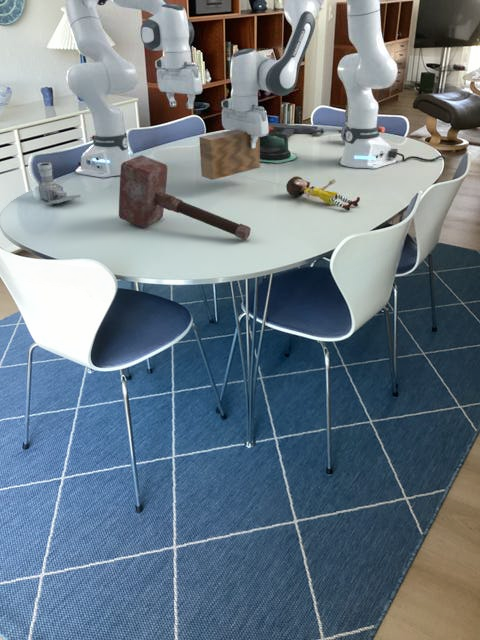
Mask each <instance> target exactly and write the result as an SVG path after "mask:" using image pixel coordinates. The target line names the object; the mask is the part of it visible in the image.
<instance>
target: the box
mask: <svg viewBox="0 0 480 640" xmlns="http://www.w3.org/2000/svg"><path fill="white" fill-rule="evenodd" d="M251 140H252V138H251V135H250V134H247V132H244V131H240V130H227V131H222V132H218V133H217V132H216V133H212V134H207V135H202V136H199V154H200V171H201V177H202V178H204V179H205V178H206V179H209V180H212V181H214V180H217V179H221V178H226V177H229V176H233V175H237V174H241V173H245V172H248V171H252V170H256V169H259V168H261V161H260V137H259V136H258V139H257V141H256V147H255V148H250V147H249V143H250V142H251Z"/></svg>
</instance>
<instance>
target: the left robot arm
mask: <svg viewBox="0 0 480 640" xmlns="http://www.w3.org/2000/svg"><path fill="white" fill-rule="evenodd" d="M108 1H109V0H65V12H66V18H67V22H68V26H69V29H70V32H71V35H72V37H73V42H74V44H75V47H76V49H77V51H78V52H79V54H80V55H82V56H84V57H86V58H88V59H90V60H92V61H89V62H82V63H78V64H75V65H72V66H70V67H69V69H68V70H67V73H66V84H67V86H68V88H69V90H70V92H72V94H74V96H76V97H78V98H79V99H81V100H82V101H83V103H85V105H86V106H87V108H88V109H89V111H90V114H91V117H92V122H93V126H94V133H95V134H93V135H92V136H90V137H89V141H92V145H91V146H90V147H88V148H87V149H86V150H85V151H84V152H83V153H82V154H81V157H80V159H79V161H78V162H77V165H79V167H77V168H76V169H75V174H79V175H85V176H90V177H97V178H111V177H116V176H120V173H121V164H122V163H123V162H125V161H128V160H130V159H131V156H130V155H131V152H130V151H129V142H128V135H127V132H126V126H125V119H124V118H125V117H124V112H123V111H122V110H121V108H120V107H118V106H116V105H114V104H112V103H109V101H108V99H107V96H108V95H114V94H115V95H116V94H123V93H126V92H129V91H132V90H134V89H135V88H136V86H137V84H138V79H139V75H138V71H137V68H136V67H135V65H134V64H133V63H132V62H131V61H129V60H127V59H125V58H124V57H122V56H121V55H120V54H118V53H117V51H116V50H115V49H114V48H113V47H112V46H111V44H110V42H109V40H108V38H107V36H106V32H105V30H104V28H103V25H102V21H101V19H100V16H99V13H98V9H97V8H98V7H97V6H104V5H105V4H106V3H107V2H108ZM110 1H111V2H113V3H114V4H115V5H117V6H119V7H121V8H127V9H133V10H135V9H136V10H139V11H144V12H146V13H149V14H151V15H152V16H150V17H148V18H146V19H144V21H143V22H142V24H141V27H140V38H141V41H142V44H143V45H144V47H145V48H146V49H147V50H149V51H155V52H157V51H162V56H161V57H159V58H158V59H156V60H155V62H154V64H155V65H154V66H155V68H156V81H157V87H158V89H159V91H160V92H161V93H166V97H167V99H168V101H169V107H172V108H176V107H177V105H178V104H177V100H175V94H183V95H186V96H187V98H188V99H187V102H186V103H185V105H186V109H188V110H192V109H194V108H195V107H194V102H195V99H196V95H200V94H202V92H203V83H202V76H201V71H200V70H199V66H198V65H197V64H196V62H194V61H193V62H192V51H191V47H190V46H191V44H192V43H193V41H194V37H195V29H194V26H193V24H192V22H191V21H190V19H189V18H188V16H187V11H186V8H185V7H184V6H183V5H182V4H181V5H180V4H176V3H169V2H167V1H166V0H110Z"/></svg>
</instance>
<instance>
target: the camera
mask: <svg viewBox="0 0 480 640" xmlns="http://www.w3.org/2000/svg"><path fill="white" fill-rule="evenodd" d="M37 169H38V172H39V174H40V179H41V182H39V183H38V186H37V187H38V194H39V198H40V199H42V200H45V201H47V205H53V204H60V203H63V202H67V201H70V200H75V199H78V198H81V197H82V196H81V195H80V194H73V195H68V194H67V192H66V190H64V186H62V185H61V184H59V183H55V181H54V177H53V166H52V163H51V162H50V161H43V162H39V163H37ZM67 195H68V196H67Z"/></svg>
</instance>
